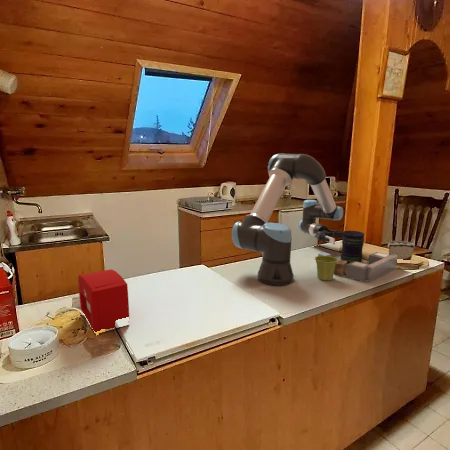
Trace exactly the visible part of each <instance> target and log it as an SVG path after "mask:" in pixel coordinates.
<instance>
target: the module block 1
mask: <svg viewBox="0 0 450 450" xmlns="http://www.w3.org/2000/svg"><path fill="white" fill-rule="evenodd" d="M367 266H368V263H364V262H357V261H354V262H351V263H349V264H347V266H346V272H345V277H346V278H349V279H352V280H355V281H356V280H357V281H360V282H367V281H366V271H367Z"/></svg>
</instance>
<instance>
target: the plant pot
mask: <svg viewBox="0 0 450 450" xmlns="http://www.w3.org/2000/svg"><path fill="white" fill-rule="evenodd" d="M314 260H315V263H316V272H317V275H316V276H317V278H318V279H319V280H322V281H333V279H334V275H335V274H334V269H335V265H336V263H337V261H338V260H339V259H338V258H337V257H334V256H332V255H331V256H318V255H317V256H314Z"/></svg>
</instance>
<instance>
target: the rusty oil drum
mask: <svg viewBox="0 0 450 450" xmlns="http://www.w3.org/2000/svg"><path fill="white" fill-rule="evenodd" d="M364 242H365V233H364V232H361V231H360V230H359V231H358V230H344V231H343V237H341V245H342V246H341V252H340V260H344V261H347V264H349V263H351V262H354V261H357V262H361V263H363V262H362V261H363V247H364Z"/></svg>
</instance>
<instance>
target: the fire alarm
mask: <svg viewBox="0 0 450 450" xmlns="http://www.w3.org/2000/svg"><path fill="white" fill-rule="evenodd" d="M77 283H78V295H79V305H80V311H81V310H82V311H83V313H84V314H85V316H86V318H87V319H88V321H89V323H90V325H91V327H92V328H93V330H94V331H95V332H97V331H100V330H101V329H110V328H114V327H115V321H116V320H118V319H122V318H126V317H129V318H130V307H129V306H130V305H129V304H130V303H129V289H128V283H127V282H126V280H125V279H124V278H123V277H122V275H120V274H119V273H118V272H117V271H116V270H114V269H111V268H110V269H105V270H100V271H96V272H95V271H94V272H90V273H89V272H88V273H84V274H83V273H81V274H79V275H78V279H77ZM82 311H81V312H82Z"/></svg>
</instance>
